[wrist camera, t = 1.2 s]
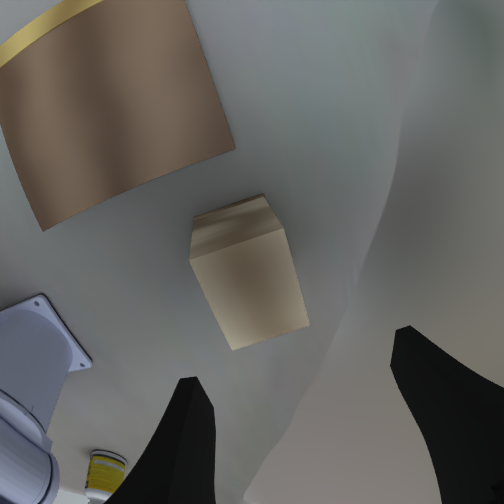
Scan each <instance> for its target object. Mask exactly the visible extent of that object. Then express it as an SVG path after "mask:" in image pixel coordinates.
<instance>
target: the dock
mask: <svg viewBox="0 0 504 504" xmlns="http://www.w3.org/2000/svg"><path fill="white" fill-rule="evenodd" d="M0 124H1V128H2V131H3V134H4V137H5V141H6V144H7V147H8V150H9V153H10V155H11V158H12V161H13V164H14V167H15V169H16V172H17V174H18V177H19V180H20V182H21V185H22V187H23V189H24V192H25V194H26V197H27V199H28V201H29V203H30V206H31V208H32V210H33V212H34V214H35V217H36V219H37V221H38V223H39V225H40V227H41V229H42V231H45V230H47V229H49V228H51V227H53V226H55V225H56V224H58V223H60V222H62V221H64V220H66V219H68V218H70V217H72V216H74V215H76V214H78V213H80V212H82V211H84V210H86V209H88V208H90V207H92V206H94V205H97V204H99V203H101V202H103V201H105V200H107V199H109V198H112V197H114V196H116V195H118V194H120V193H123V192H125V191H127V190H130V189H132V188H134V187H137V186H139V185H141V184H144V183H146V182H148V181H151V180H153V179H156V178H158V177H161V176H163V175H166V174H168V173H171V172H173V171H176V170H178V169H181V168H184V167H186V166H189V165H192V164H194V163H197V162H200V161H203V160H205V159H208V158H211V157H214V156H217V155H220V154H223V153H226V152H229V151H232V150H235V149H236V147H235V144H234V141H233V138H232V135H231V132H230V129H229V126H228V123H227V120H226V117H225V114H224V112H223V109H222V106H221V103H220V100H219V97H218V94H217V91H216V88H215V85H214V82H213V79H212V77H211V74H210V71H209V68H208V65H207V62H206V59H205V56H204V54H203V51H202V48H201V45H200V42H199V39H198V37H197V34H196V31H195V28H194V25H193V23H192V20H191V17H190V14H189V11H188V9H187V6H186V3H185V0H64V1H62V2H60V3H59V4H57V5H55V6H54V7H52V8H51V9H49V10H48V11H46V12H45V13H43V14H42V15H40V16H39V17H37V18H36V19H34V20H33V21H32V22H30V23H29V24H27V25H26V26H25V27H23V28H22V29H21V30H19V31H18V32H17V33H16V34H14V35H13V36H12V37H10V38H9V39H8V40H7V41H6V42H4V43H3V44H2V45H1V46H0Z"/></svg>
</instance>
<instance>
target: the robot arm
mask: <svg viewBox="0 0 504 504" xmlns="http://www.w3.org/2000/svg"><path fill="white" fill-rule="evenodd" d="M37 302H38V303H37ZM91 366H92V361H91V360H90V359H89V357H88V356H87V355H86V354H85V352H84V351H83V350H82V348H81V347H80V346H79V345H78V343H77V342H76V341H75V339H74V338H73V337H72V335H71V334H70V332H69V331H68V330H67V328H66V327H65V326H64V324H63V323H62V321H61V320H60V318H59V317H58V315H57V314H56V313H55V311H54V310H53V308H52V307H51V305H50V304H49V302H48V300H47V299H46V298H45V296H43V295H38V296H35V297H33V298H31V299H28V300H26V301H23V302H21V303H19V304H16V305H14V306H12V307H9V308H7V309H5V310H2V311H0V504H52V503H53V501H54V500H55V498H56V496H57V493H58V489H59V484H60V475H59V466H58V462H57V460H56V458H55V457H54V455H53V454H52V453H51V452H50V450H51V446H52V443H53V442H52V440H50V439H49V438H48V437H47V436H46V433H47V430H48V427H49V424H50V421H51V418H52V415H53V412H54V409H55V406H56V403H57V400H58V397H59V395H60V392H61V389H62V386H63V384H64V381H65V379H66V376H67V373H68V372H72V371H77V370H82V369H87V368H90V367H91ZM390 367H391V369H392V372H393V375H394V378H395V380H396V383H397V385H398V388H399V390H400V392H401V394H402V396H403V398H404V400H405V401H406V403H407V405H408V407H409V409H410V411H411V412H412V415H413V417H414V419H415V420H416V422H417V424H418V426H419V428H420V430H421V432H422V435H423V437H424V439H425V442H426V445H427V447H428V450H429V453H430V456H431V459H432V463H433V466H434V469H435V473H436V477H437V481H438V485H439V490H440V495H441V500H442V504H504V388H503V387H501V386H499V385H497V384H495V383H493V382H491V381H489V380H487V379H486V378H484V377H482V376H480V375H479V374H477V373H475V372H474V371H472V370H470V369H469V368H468V367H466V366H464V365H463V364H462V363H460V362H458V361H457V360H456V359H454V358H453V357H452V356H450V355H449V354H447V353H446V352H445V351H443V350H442V349H441V348H439V347H438V346H437V345H435V344H434V343H433V342H431V341H430V340H429V339H428V338H426V337H425V336H424V335H422V334H421V333H420V332H418V331H417V330H416V329H414V328H413V327H412V326H407V327H404V328H401V329H398V330H396V332H395V339H394V346H393V352H392V358H391V364H390ZM215 443H216V428H215V416H214V407H213V405H212V404H211V402H210V400H209V398H208V396H207V395H206V393H205V391H204V389H203V387H202V385H201V384H200V382H199V380H198V378H197V376H196V377H189V378H181V379H180V380H179V382H178V384H177V386H176V388H175V391H174V393H173V395H172V398H171V400H170V402H169V404H168V406H167V409H166V411H165V413H164V415H163V417H162V419H161V421H160V423H159V425H158V427H157V429H156V431H155V433H154V435H153V436H152V438H151V440H150V442H149V443H148V445H147V447H146V449H145V451H144V452H143V454H142V455H141V457H140V459H139V460H138V462H137V463H136V465H135V466H134V467H133V469H132V470H131V472H130V473H129V474H128V476H127V477H126V478H125V480H124V481H123V482H122V483H121V485H120V486H119V487H118V488H117V490H116V491H115V492H114V493H113V494H112V495H111V496H110V497H109V498H108V499H107V500H106V501H105V502H104V503H103V504H216V501H215V491H214V474H215Z"/></svg>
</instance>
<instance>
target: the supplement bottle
mask: <svg viewBox="0 0 504 504" xmlns="http://www.w3.org/2000/svg"><path fill="white" fill-rule="evenodd" d="M126 471H127V462H126V461H125V460H124V459H123V458H122V457H120V456H119V455H116V454H114V453H111V452H107V451H93V452H92V454H91V457H90V462H89V468H88V474H87V479H86V485H85V495H86V497H87V498H88V499H90V502H88V504H103V503H104V502H105V501H106V500H107V499H108V498H109V497H110V496H111V495H112V494H113V493H114V492H115V491H116V490H117V488H118V487H119V486H120V485H121V483H122V482H123V481H124V480H125V478H126Z"/></svg>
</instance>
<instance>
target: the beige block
mask: <svg viewBox="0 0 504 504" xmlns="http://www.w3.org/2000/svg"><path fill="white" fill-rule="evenodd" d="M193 222H194V224H193V231H192V238H191V246H190V253H189V262H190V265H191V267H192V269H193V271H194V273H195V275H196V278H197V280H198V282H199V284H200V286H201V288H202V290H203V292H204V295H205V297H206V299H207V301H208V303H209V305H210V307H211V309H212V311H213V313H214V315H215V317H216V319H217V321H218V323H219V325H220V327H221V329H222V331H223V333H224V335H225V337H226V339H227V341H228V343H229V345H230V347H231V349H232V350H236V349H239V348H242V347H246V346H249V345H252V344H255V343H258V342H262V341H265V340H268V339H271V338H274V337H277V336H280V335H283V334H286V333H289V332H292V331H295V330H298V329H301V328H303V327H306V326H309V325H310V324H309V320H308V316H307V312H306V309H305V305H304V301H303V297H302V293H301V290H300V286H299V282H298V278H297V275H296V271H295V267H294V264H293V260H292V256H291V253H290V249H289V246H288V242H287V238H286V235H285V231H284V228H283V226H282V225H281V223H280V222H279V220H278V218H277V217H276V215H275V214H274V212H273V210H272V209H271V207H270V206H269V204H268V203H267V201H266V199H265V196H264V194H263V193H262V194H259V195H256V196H253V197H250V198H247V199H244V200H241V201H238V202H235V203H233V204H230V205H227V206H224V207H221V208H218V209H215V210H212V211H210V212H207V213H204V214H201V215H198V216H196V217H193Z"/></svg>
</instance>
